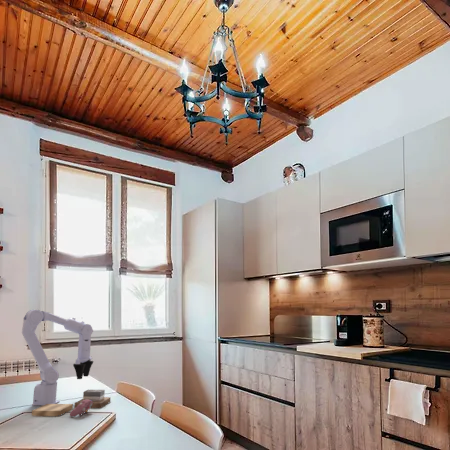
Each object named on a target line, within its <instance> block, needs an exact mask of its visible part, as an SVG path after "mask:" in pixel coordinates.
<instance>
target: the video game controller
mask: <svg viewBox="0 0 450 450" xmlns="http://www.w3.org/2000/svg"><path fill="white" fill-rule="evenodd" d="M92 404H93V402H92V401H91V400H89V399H88V400H83V401H82V402H81V403H80V404H79V405H78V406H77V407H76V408H75V407H74V408H73V409H71V410H70V413H69V417H71V416H74V417H76V416H78V415H79V416H80V415H81V414H82V413H83V414H84V412H86V413H88V411H89V410H90V409H91V408H90V407H91V406H92ZM83 414H82V415H83ZM82 415H81V416H82Z"/></svg>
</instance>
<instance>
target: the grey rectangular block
mask: <svg viewBox="0 0 450 450" xmlns="http://www.w3.org/2000/svg"><path fill="white" fill-rule="evenodd" d="M105 391H106V390H105V389H87V390H84V391H83V394H82V399H83V400H88V399H89V400H91V401H102V400H103V399H104V397H105Z"/></svg>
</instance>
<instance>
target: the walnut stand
mask: <svg viewBox="0 0 450 450" xmlns="http://www.w3.org/2000/svg"><path fill="white" fill-rule="evenodd" d="M82 401H83V398H82V399H79V400H78V401H76V402H74V409H75V408H76V407H77V406H78V405H79V404H80V403H81V402H82ZM92 402H93V404H92V406H91V407H90V409H101V408H103V407H105V406H107V405H108V404H109V403H111V396H110V397H109V396H107V397H106V396H104V399H103V400H102V401H92Z"/></svg>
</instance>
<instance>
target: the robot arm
mask: <svg viewBox="0 0 450 450" xmlns="http://www.w3.org/2000/svg"><path fill="white" fill-rule="evenodd" d="M47 321H49V322H51V323H55V324H58V325H62V327H63V328H64V329H65V330H67V331H69V332H72V333H75V334H78V344H77V345H78V346H77V347H78V350H77V359H75V363H73V364H72V365H73V369H74V371H75V374H76V379H77V380H82V379H83V377H89V375H90V372H91V369H92V365H93V363H94V361H93V357H92V356H91V345H92V344H91V343H92V342H91V341H92V340H91V339H92V334H93V332H94V329H93V326H92V325H91V324H88V323H85V321H83V320H82V321H80V320H77V319H76V317H69V318H67V319H66V318H64V317H61V316H60V315H56V314H54V313H51V312H49V311H45V310H39V309H29V310H28V311H27V312H26V313H25V315H24V317H23V322H22V329H21V334H22V336H23V338H24V340H25V342H26V344H27V346H28V348H29V350H30V352H31V354H32V356H33V358H34V360H35V362H36V365H37V366H38V370H39V374H40V375H39V376H40V377H39V378H40V381H41V382H40V383H37V384H35V386H34V388H33V394H32V395H33V397H32V404H31V405H32V406H43V405H45V404H59V403H60V400H57V391H58V380H59V377H60V375H59V372H58V370H56V369H55V368H54V367H53V365H52V364H51V362H50V360H49V359H48V357H47V354H46V352H45V351H44V348H43V346H42V344H41V343H40V340H39V339H38V337H37V335H36V329H37V327H38V326H39V325H40V323H41V322H47Z"/></svg>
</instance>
